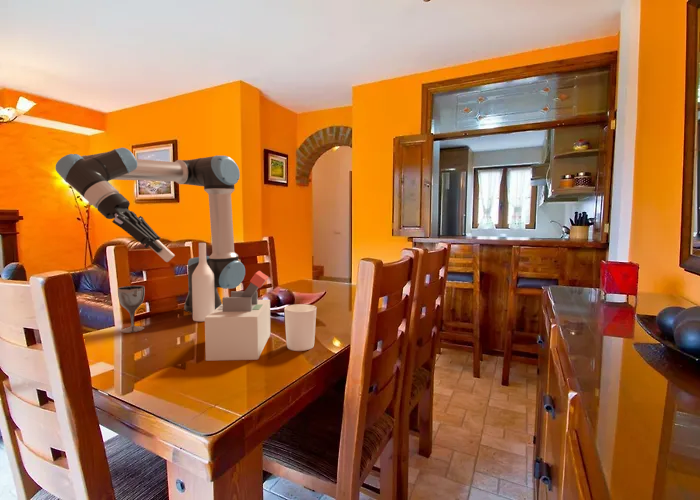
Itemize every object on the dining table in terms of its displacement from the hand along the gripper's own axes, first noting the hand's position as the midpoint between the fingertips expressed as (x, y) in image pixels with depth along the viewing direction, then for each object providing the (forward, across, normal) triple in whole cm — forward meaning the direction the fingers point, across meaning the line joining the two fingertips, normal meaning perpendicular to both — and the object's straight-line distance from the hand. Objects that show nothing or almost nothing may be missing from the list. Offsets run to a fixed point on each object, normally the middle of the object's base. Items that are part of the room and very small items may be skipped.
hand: (170, 258), depth 101 cm
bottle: (+19, -32, -20) cm, 42 cm away
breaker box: (+33, 0, -5) cm, 34 cm away
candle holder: (+46, +2, +8) cm, 47 cm away
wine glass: (+4, -19, -34) cm, 40 cm away
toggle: (+24, 0, +4) cm, 25 cm away
